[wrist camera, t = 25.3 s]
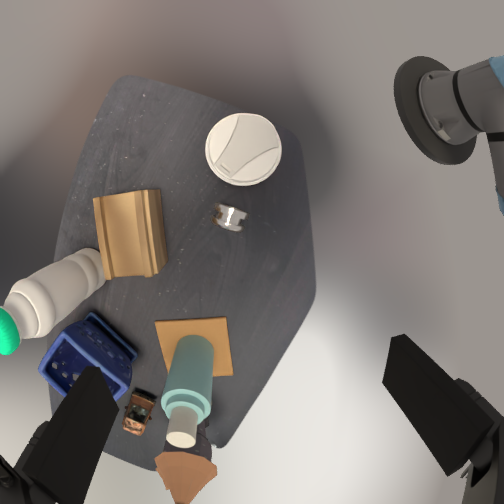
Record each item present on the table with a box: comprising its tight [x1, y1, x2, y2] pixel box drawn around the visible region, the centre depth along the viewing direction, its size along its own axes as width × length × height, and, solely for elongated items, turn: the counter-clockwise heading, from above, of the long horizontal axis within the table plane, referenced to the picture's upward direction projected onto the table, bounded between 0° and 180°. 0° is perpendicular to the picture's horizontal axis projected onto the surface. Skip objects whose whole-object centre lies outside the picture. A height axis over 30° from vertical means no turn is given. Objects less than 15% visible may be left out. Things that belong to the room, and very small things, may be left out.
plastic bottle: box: [161, 335, 214, 448], centre depth 34 cm, size 20×7×7 cm
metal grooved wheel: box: [210, 202, 250, 233], centre depth 37 cm, size 5×3×5 cm, turn 70°
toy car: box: [122, 391, 156, 435], centre depth 43 cm, size 6×12×7 cm, turn 161°
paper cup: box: [205, 113, 281, 186], centre depth 31 cm, size 8×8×14 cm
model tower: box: [155, 400, 217, 504], centre depth 33 cm, size 10×11×30 cm
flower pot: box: [38, 312, 138, 402], centre depth 37 cm, size 13×13×12 cm
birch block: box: [93, 190, 168, 280], centre depth 35 cm, size 8×11×8 cm
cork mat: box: [155, 317, 233, 376], centre depth 44 cm, size 12×12×1 cm
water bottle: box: [0, 248, 106, 355], centre depth 28 cm, size 7×7×25 cm
